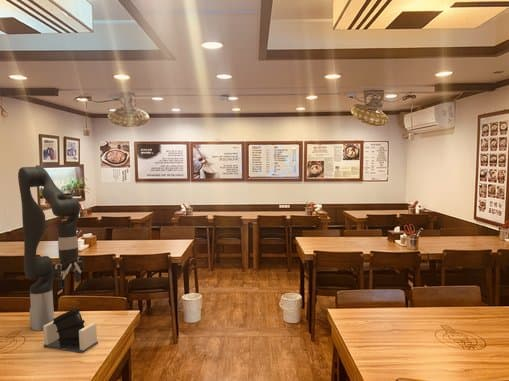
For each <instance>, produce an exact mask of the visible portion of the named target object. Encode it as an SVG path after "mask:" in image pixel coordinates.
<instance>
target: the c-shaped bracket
mask: <svg viewBox="0 0 509 381" xmlns="http://www.w3.org/2000/svg"><path fill="white" fill-rule="evenodd" d="M53 322H54V321H52V322H50V323H48V324H46V325H44V326H43V330H42V331H43V345H44V344H45V345H48V344H50V343H52V342H54V341H56V340H57V339H59V334H58V332H56V331H58V330H57V327H56V325H55V324H53ZM97 336H98V334H97V322H91V323H89V324H88V325H86V326H84V328H82V329H81V330H79V343H80V350H85V349H86V348H88V347H89V346H91V345H92V344H94V343H95V342H97V341H98V337H97Z"/></svg>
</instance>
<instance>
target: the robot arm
mask: <svg viewBox="0 0 509 381" xmlns="http://www.w3.org/2000/svg"><path fill="white" fill-rule="evenodd" d="M17 180H18V185H19V188H18V189H19V194H20V199H21V217H22V230H23V232H22V233H23V242H24V244H23V246H24V249H23V250H24V251H23V271H24V274H25V276H26V278H27V279H28V280H34V279H38V280H36V281H35V283H33V284H31V285H30V286H29V297H30V308H29V309H28V310H29V324H30V326H29V327H30V329H31V330H33V331H38V332H39V331H43V326H44V325H46V324H48V323H50V322H52V321H53V319H54V318H55V311H54V296H53V285H54V280H58V286H59V288H60V289H65V288H66V280H65V277H66V275H68V273H69V272H71V271H73V272H74V281H75V283H80V282H81V279H82V277H81V274H82V272H83V271H84V270H85V262H84V257H83V256H80V255H79V254H80V253H79V240H78V232H77V231H78V228H77V225H78V220H79V216H80V211H81V205H80V202H79V201H78V200H77V199H76V198H70V199H69V198H68V199H67V196H66V194H65V193H64V192H62V190H60V189H59V187H58V186H56V184H55V183H54V181H53V179H52V177H51V175H50V174H49V173H48V172H47V170H46V169H45V168H44V167H41V166H23V167H20V168H19V169H18V174H17ZM39 187H42V192H41V193H42V197H43V199H44V200H45V201H46V202H47V203H48V204H49V206H50V208H51V211H52V214H53V215H54V216H55V217H57V218H64V217H65V218H66V217H68V218H67V219H66V220H64V221H62V222H60V223H58V224H57V236H58V240H57V241H58V242H57V246H58V247H57V250H58V251H57V252H58V259H59V261H60V262H59V263H58V264H57V263H55V264H54V263H53V261H52V259H51V257H50V256H47V255H43V256H38V257H37V249H38V247H39V244H40V242H41V240H42V238H43V237H44V235H45V233H46V229H47V224H46V223H47V222H46V220H47V219H46V214H45V212H44V211H43V208H41V207H40V205H39V204H38V203H37V202H36V201H35V199H34V197H33V195H32V192H31V188H39ZM53 264H54V265H53Z"/></svg>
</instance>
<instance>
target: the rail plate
mask: <svg viewBox="0 0 509 381" xmlns="http://www.w3.org/2000/svg"><path fill="white" fill-rule="evenodd" d="M98 344H99V341H98V340H97V342H95V343H94V344H92V345H91V346H89V347H88V348H86V349H85V350H80V345H71V344H60V341H58V339H57V340H56V341H54V342H52V343H50V344H48V345H45V344H44V343H43V345H42V346H43V348H46V349H53V350H58V351H59V350H60V351H67V352H73V353H79V354H84V353H85V352H87V351H88V350H90V349H92V348H93V347H95V346H96V345H98Z"/></svg>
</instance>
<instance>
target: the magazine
mask: <svg viewBox="0 0 509 381" xmlns="http://www.w3.org/2000/svg"><path fill="white" fill-rule="evenodd" d="M53 321H54V322H53V324H55V325H56V327H57V330H58V331H56V332H58V334H59V339H58V341H60V344H71V345H80V343H79V330H81V329H82V328H84V327H85V320H84V319H83V317H82V314H81V309H80V308H78V307H77V306H76V307H75V308H72V309H70V310H68V311H66V312H64V313H62V314H60V315H58V316H56V317H54V319H53Z"/></svg>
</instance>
